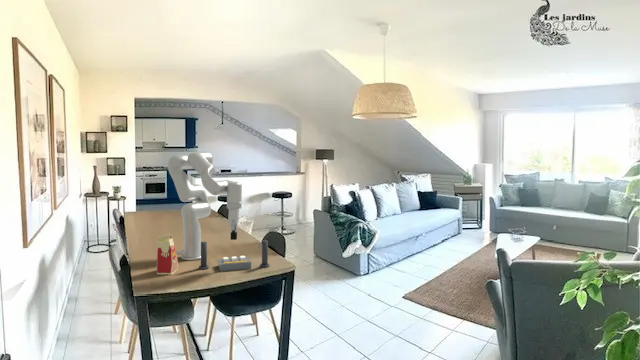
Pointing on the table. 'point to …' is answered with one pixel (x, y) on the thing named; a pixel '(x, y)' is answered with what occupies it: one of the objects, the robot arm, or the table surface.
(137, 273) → the table surface
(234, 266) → the switch panel
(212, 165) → the robot arm
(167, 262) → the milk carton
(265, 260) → the right cable post
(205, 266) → the post
